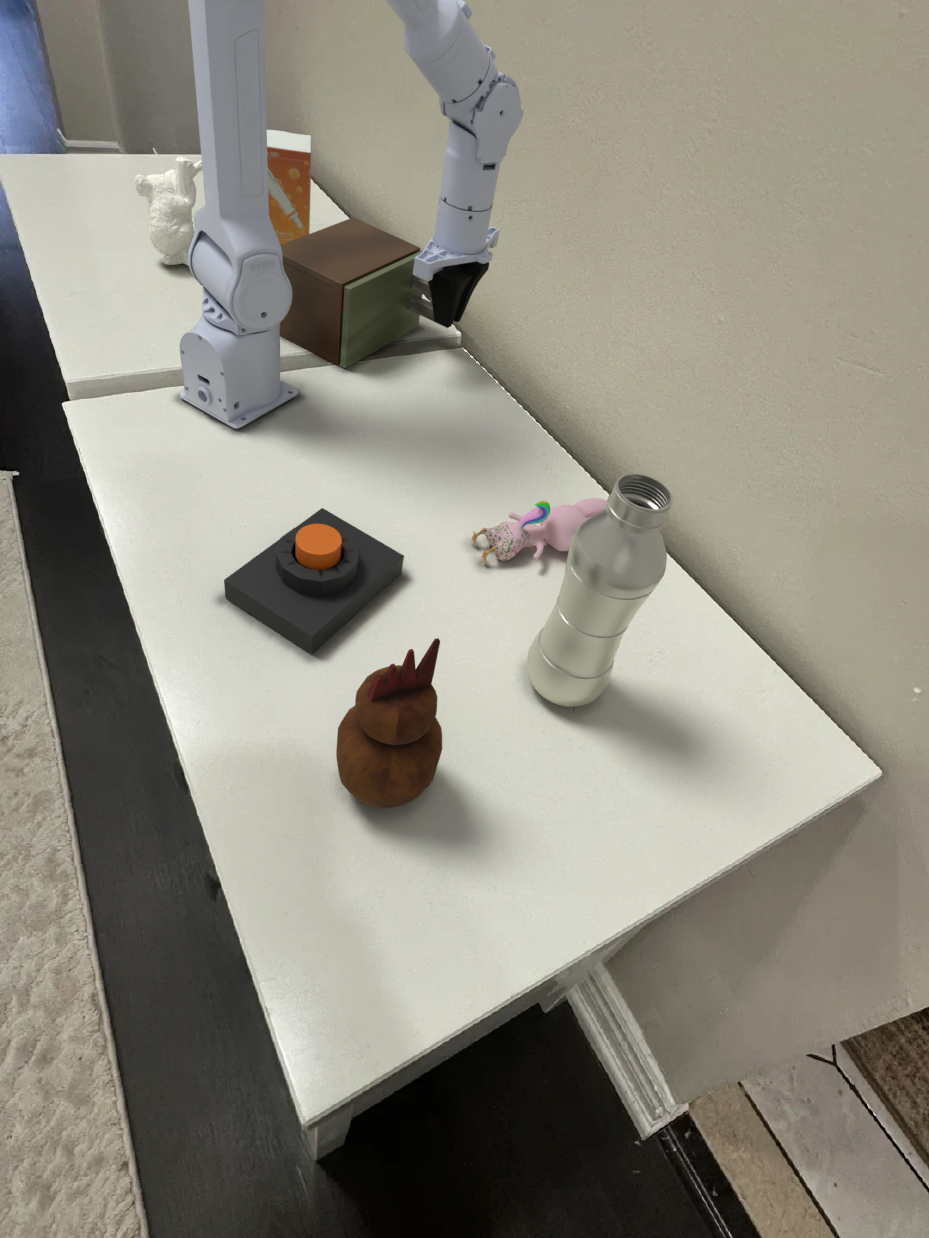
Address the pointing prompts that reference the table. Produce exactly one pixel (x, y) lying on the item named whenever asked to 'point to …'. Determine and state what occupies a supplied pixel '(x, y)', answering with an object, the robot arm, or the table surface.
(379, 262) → the cupboard
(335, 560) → the button
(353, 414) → the table surface
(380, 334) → the cupboard door
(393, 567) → the control block
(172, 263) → the koala figurine
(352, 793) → the wooden figurine
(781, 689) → the table surface
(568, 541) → the pink plastic animal figure
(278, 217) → the small box
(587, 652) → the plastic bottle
